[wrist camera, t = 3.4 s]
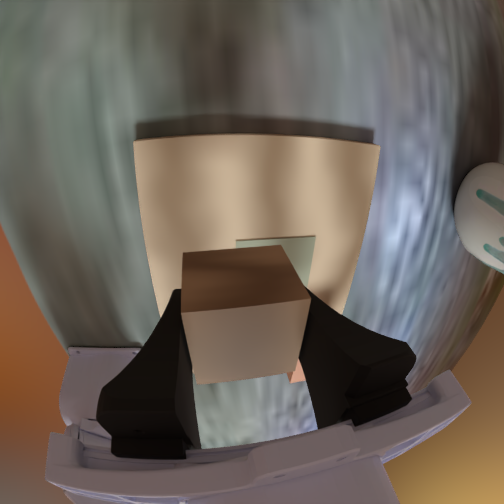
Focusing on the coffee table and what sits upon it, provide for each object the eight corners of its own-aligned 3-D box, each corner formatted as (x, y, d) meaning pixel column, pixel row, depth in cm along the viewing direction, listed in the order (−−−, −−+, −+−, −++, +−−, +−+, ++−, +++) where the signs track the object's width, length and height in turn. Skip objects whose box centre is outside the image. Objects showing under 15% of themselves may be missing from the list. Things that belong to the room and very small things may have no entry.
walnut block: (193, 324, 15) (197, 384, 11) (182, 252, 12) (180, 312, 9) (274, 315, 15) (294, 371, 12) (280, 244, 13) (311, 298, 10)
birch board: (176, 366, 28) (176, 374, 28) (136, 139, 16) (133, 141, 15) (325, 347, 32) (328, 354, 31) (373, 143, 19) (381, 146, 19)
